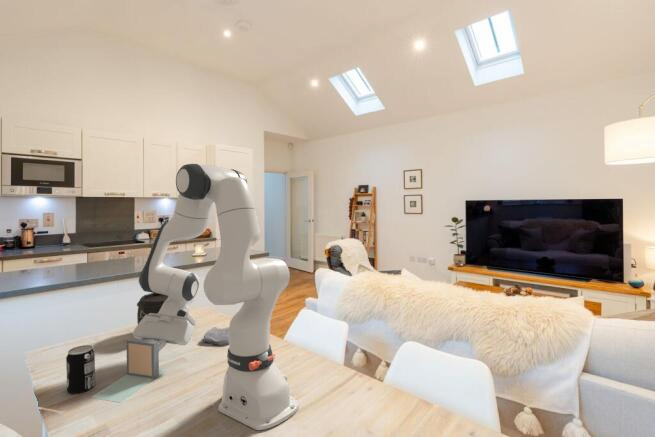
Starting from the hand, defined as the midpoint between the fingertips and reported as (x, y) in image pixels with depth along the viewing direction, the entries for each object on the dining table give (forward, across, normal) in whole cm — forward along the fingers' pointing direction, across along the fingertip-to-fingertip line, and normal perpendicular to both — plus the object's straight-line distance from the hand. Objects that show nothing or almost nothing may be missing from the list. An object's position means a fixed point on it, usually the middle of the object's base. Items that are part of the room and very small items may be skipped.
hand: (151, 354), depth 107 cm
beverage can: (+14, -12, -6) cm, 19 cm away
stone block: (-15, +8, +23) cm, 29 cm away
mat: (+10, 0, -2) cm, 10 cm away
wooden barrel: (-15, -19, +23) cm, 34 cm away
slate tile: (+6, 0, +1) cm, 6 cm away
